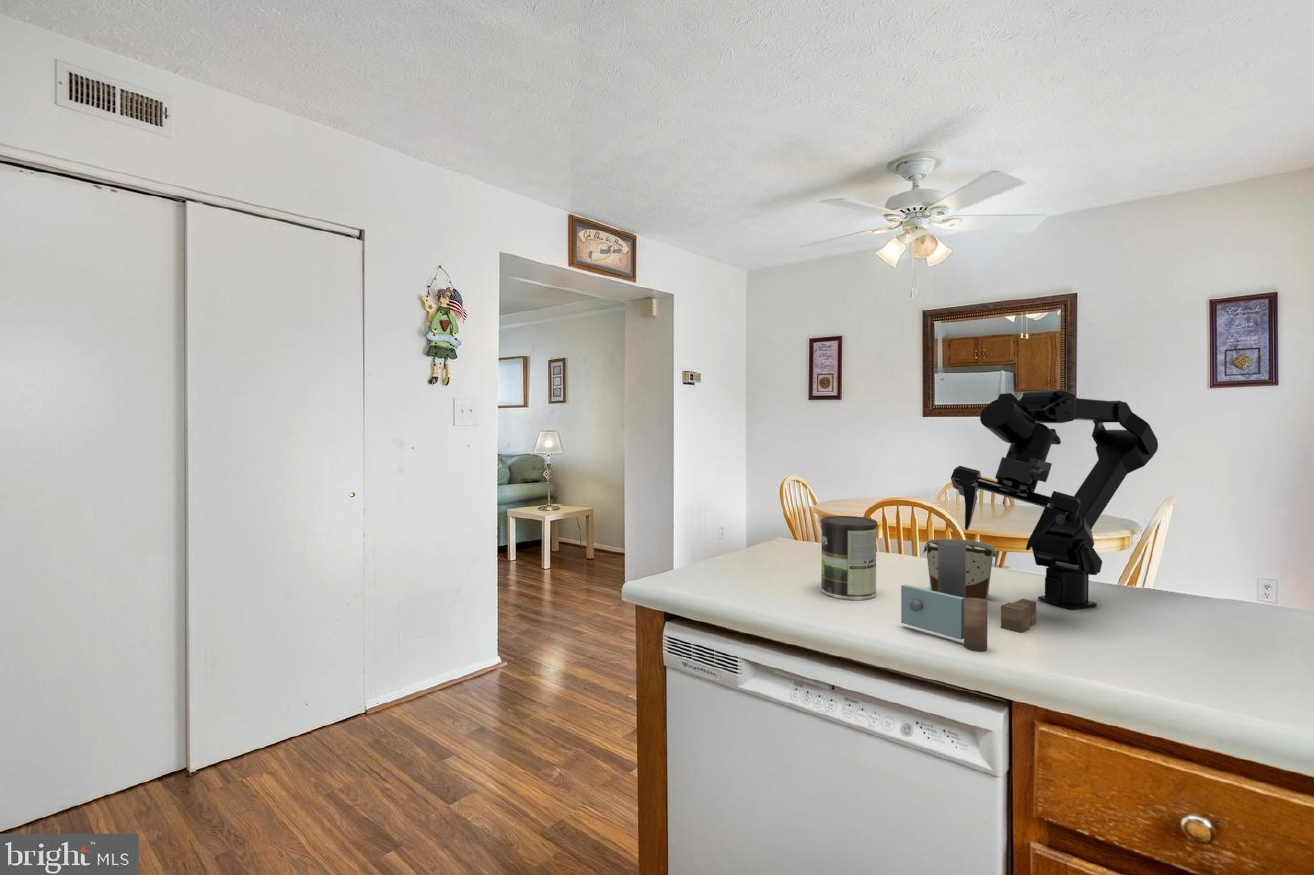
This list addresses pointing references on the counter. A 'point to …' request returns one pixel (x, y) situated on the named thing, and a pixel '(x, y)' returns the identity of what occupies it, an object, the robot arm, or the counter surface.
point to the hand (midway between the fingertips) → (995, 539)
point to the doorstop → (952, 568)
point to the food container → (976, 566)
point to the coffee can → (848, 557)
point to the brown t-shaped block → (1012, 618)
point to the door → (932, 611)
